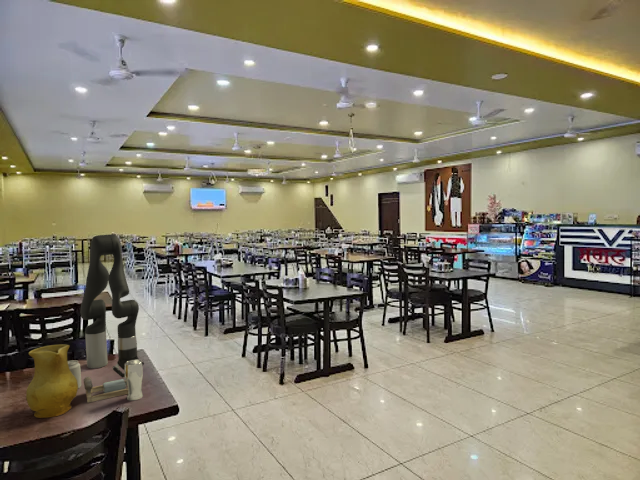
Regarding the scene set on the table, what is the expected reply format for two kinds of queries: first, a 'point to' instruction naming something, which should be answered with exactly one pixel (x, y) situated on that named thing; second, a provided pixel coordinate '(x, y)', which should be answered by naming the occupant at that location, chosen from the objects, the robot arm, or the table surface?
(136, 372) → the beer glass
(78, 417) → the table surface
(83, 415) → the table surface
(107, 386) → the pale teal block
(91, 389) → the bay
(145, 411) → the table surface
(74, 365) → the can
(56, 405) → the pitcher
